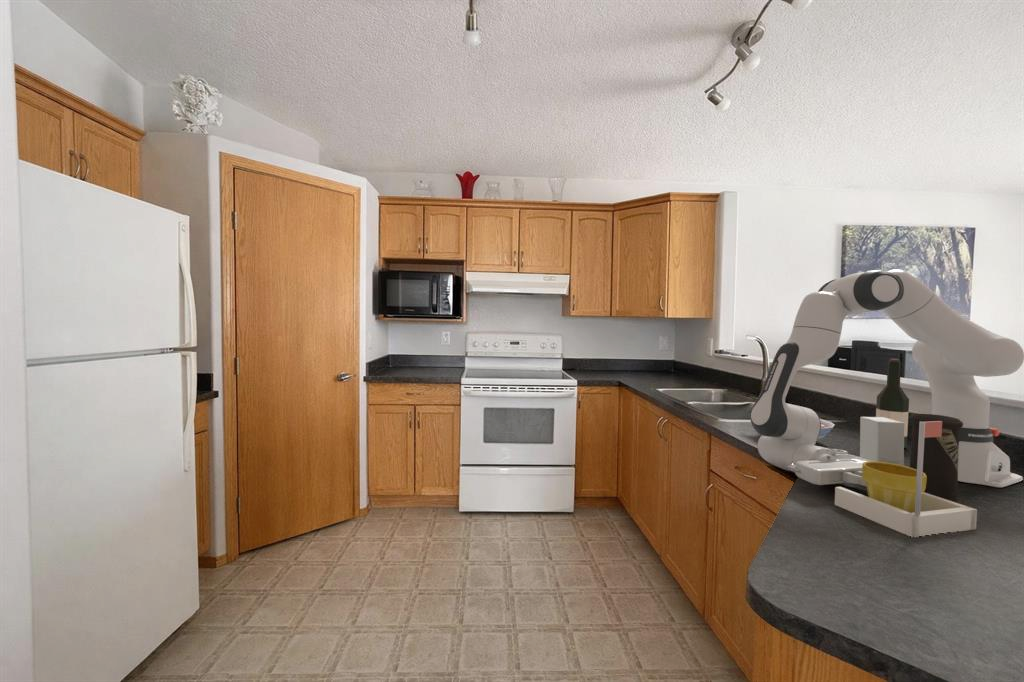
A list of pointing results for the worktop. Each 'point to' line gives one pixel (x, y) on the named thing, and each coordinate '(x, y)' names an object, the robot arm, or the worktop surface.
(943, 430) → the container
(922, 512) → the white frame with flag
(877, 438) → the skincare box
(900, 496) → the plant pot
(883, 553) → the worktop surface
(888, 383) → the wine bottle
